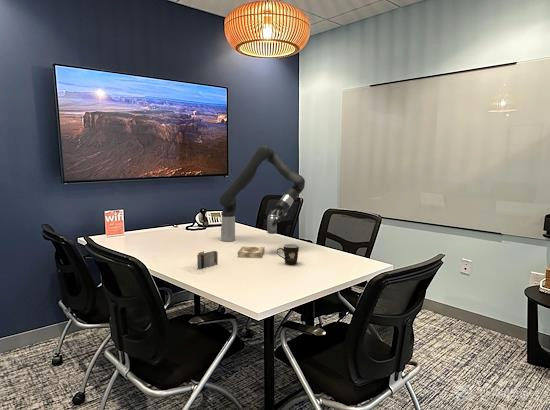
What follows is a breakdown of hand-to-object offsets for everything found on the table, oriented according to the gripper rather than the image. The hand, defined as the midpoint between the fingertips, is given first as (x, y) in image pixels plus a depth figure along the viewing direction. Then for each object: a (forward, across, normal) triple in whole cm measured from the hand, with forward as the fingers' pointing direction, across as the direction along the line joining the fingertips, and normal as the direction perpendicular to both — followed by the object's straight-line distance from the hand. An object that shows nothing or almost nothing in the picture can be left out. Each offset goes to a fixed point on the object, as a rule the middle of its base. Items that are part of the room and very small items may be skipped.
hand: (269, 224), depth 221 cm
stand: (+19, -5, +6) cm, 21 cm away
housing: (+2, 0, +5) cm, 6 cm away
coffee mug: (+16, +22, +10) cm, 29 cm away
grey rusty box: (+43, 0, -17) cm, 46 cm away
